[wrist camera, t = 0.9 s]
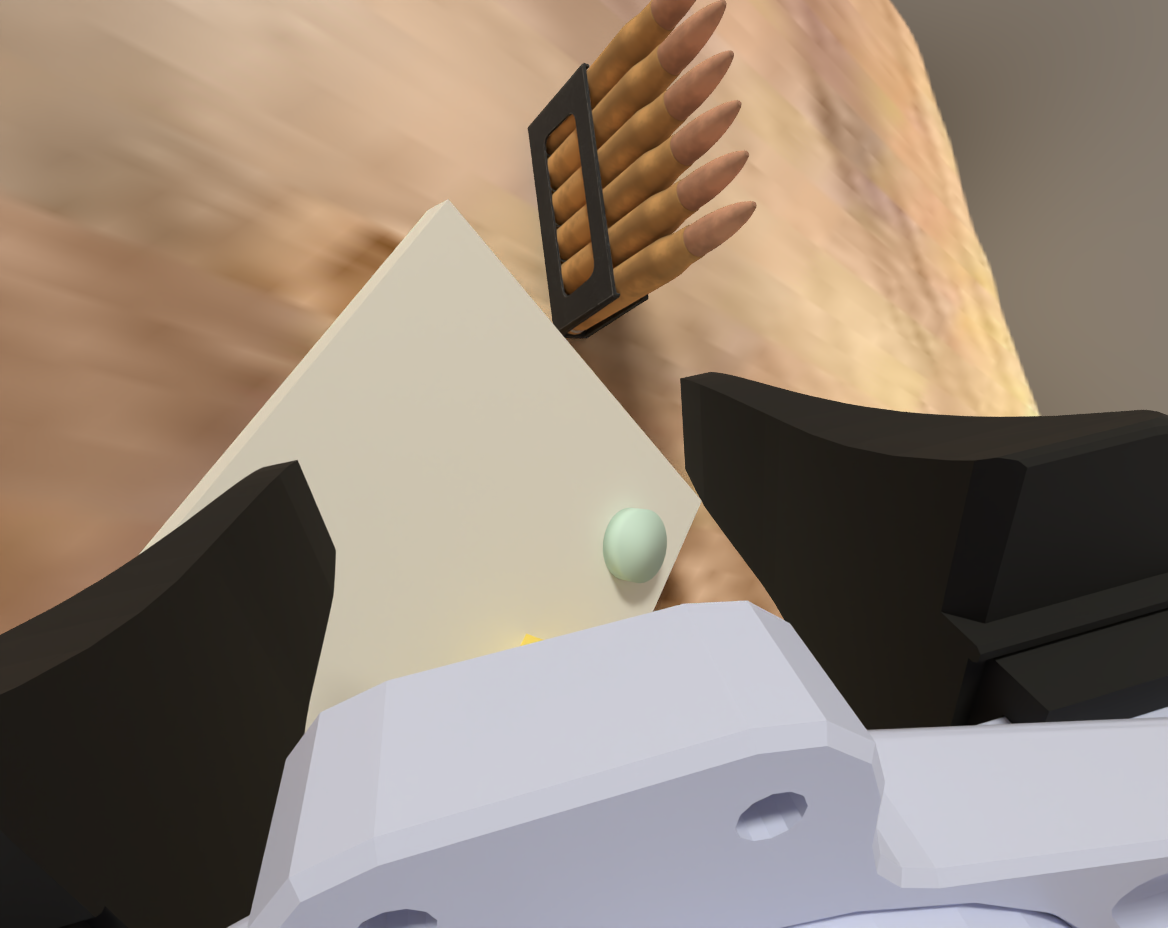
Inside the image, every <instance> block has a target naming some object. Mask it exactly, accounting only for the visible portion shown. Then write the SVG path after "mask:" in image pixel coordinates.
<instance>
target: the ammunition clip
mask: <svg viewBox="0 0 1168 928" xmlns="http://www.w3.org/2000/svg"><path fill="white" fill-rule="evenodd" d="M695 1H696V0H651V2H650V3H649V4H648V5H647V6H646V7H645V8H644V9H643V10H642V11H641V12H640V13H639V14H638V15H637V16H635V17H634V18H633V19H631V20H630V21H629V22H628V23H626V25H625V26H624V27H623V28H622V29H621V30H620V31H619V33H618V34H617V35H616V36H615V37H614V39H613V40H612V41H611V42H610V44H609V45H608V46H607V47H606V48H605V50H604V51H603V52H602V53H601V54H600V56H599V57H598V58H597V59H596V60H595V62H594V63H593V64H592V65H591V66H590V68H589V65H588V64H585V63H583V64H582V65H581V66H580V67H579V68H578V69H577V71H576V72H575V73H574V74H573V75H572V77H571V78H570V79H569V80H568V81H567V82H566V84H565V85H564V86H563V87H562V88H561V89H560V91H559V92H558V93H557V94H556V95H555V96H554V98H553V99H552V100H551V101H550V102H549V103H548V105H547V106H546V107H545V108H544V109H543V110H542V112H541V113H540V114H539V115H538V116H537V117H536V119H535V120H534V121H533V122H532V123H531V124H530V126H529V127H528V133H529V140H530V148H531V156H532V164H533V172H534V180H535V187H536V195H537V203H538V211H539V219H540V227H541V234H542V242H543V250H544V258H545V266H546V274H547V281H548V289H549V297H550V305H551V313H552V321H553V324H554V326H555V327H556V328H557V329H558V330H559V332H560V333H561V334H562V335H563V336H564V337H567V338H588V337H589V336H591V335H593V334H594V333H596V332H597V331H599V330H600V329H602V328H603V327H605V326H607V325H608V324H610V323H611V322H613V321H614V320H616V319H617V318H619V317H621V316H622V315H624V314H625V313H627V312H628V311H630V310H631V309H633V308H635V307H636V306H638V305H639V304H641V303H643V302H644V301H646V300H648V294H649V293H651V292H652V291H654V290H656V289H658V288H659V287H661V286H663V285H664V284H666V283H668V282H670V281H671V280H673V279H675V278H676V277H678V276H679V275H680V274H682V273H683V272H684V271H685V270H686V269H687V268H688V267H689V266H690V265H691V264H692V263H694V262H695V261H697V260H699V259H700V258H702V257H703V256H704V255H705V254H707V253H708V252H710V251H712V250H713V249H715V248H716V247H718V246H719V245H721V244H722V243H723V242H725V241H726V240H727V239H729V238H730V237H731V236H732V235H733V234H735V233H736V232H737V231H738V230H739V229H740V228H741V227H742V226H743V225H744V224H745V223H746V222H747V221H748V219H749V218H750V217H751V215H752V214H753V212H754V210H755V208H756V203H755V202H753V201H747V202H739V203H735V204H732V205H728V206H725V207H723V208H720V209H718V210H716V211H714V212H711V213H709V214H707V215H705V216H704V217H702V218H700V219H699V220H697V221H696V222H694V223H692V224H691V225H688V226H686V227H684V228H682V229H681V230H679V231H677V232H676V233H673V232H674V231H676V230H677V228H678V227H679V226H680V225H681V224H682V223H683V222H684V221H685V220H686V219H687V218H688V217H690V216H691V215H692V214H694V213H695V212H696V211H698V210H699V208H700V207H702V206H703V205H705V204H706V203H707V202H709V201H710V200H711V199H713V198H714V197H715V196H716V195H718V194H719V193H720V192H721V191H722V190H723V189H724V188H725V187H726V186H727V185H728V184H729V183H730V182H731V181H732V180H733V179H734V178H735V177H736V175H737V174H738V173H739V172H740V170H741V169H742V168H743V166H744V164H745V163H746V161H747V159H748V157H749V153H748V152H747V151H736V152H732V153H729V154H726V155H724V156H721V157H719V158H716V159H714V160H712V161H710V162H709V163H707V164H705V165H703V166H702V167H700V168H698V169H696V170H695V171H693V172H692V173H690V174H689V175H688V176H686V177H685V178H684V179H681V180H680V181H678V182H677V183H675V184H674V185H672V184H673V183H674V182H675V181H676V179H677V178H678V177H679V176H680V175H681V174H682V173H683V172H684V171H685V170H687V169H688V168H689V167H690V166H691V165H692V164H693V163H694V162H695V161H696V160H697V159H699V158H700V157H701V156H702V155H703V154H705V153H706V152H707V151H708V150H709V149H710V148H711V147H712V146H713V145H714V144H715V143H716V142H717V141H718V140H719V139H720V138H721V137H722V135H723V134H724V133H725V132H726V130H727V129H728V128H729V126H730V125H731V124H732V122H733V121H734V119H735V118H736V116H737V114H738V112H739V110H740V108H741V102H740V101H738V100H735V101H730V102H727V103H723V104H721V105H719V106H717V107H715V108H713V109H711V110H709V111H707V112H705V113H703V114H702V115H700V116H698V117H697V118H695V119H694V120H692V121H691V122H690V123H688V124H687V125H686V126H684V127H683V128H682V129H681V130H679V131H678V132H677V133H676V134H674V135H672V133H673V132H674V131H675V130H676V129H677V128H678V127H679V126H680V125H681V124H682V123H683V122H684V121H685V120H686V119H687V117H688V116H690V115H691V114H692V113H693V112H694V111H695V110H696V109H697V108H698V107H699V106H700V105H701V104H702V103H703V102H704V101H705V100H706V99H707V98H708V96H709V95H710V94H711V93H712V92H713V91H714V89H715V88H716V87H717V85H718V84H719V83H720V81H721V80H722V78H723V77H724V75H725V74H726V72H727V70H728V68H729V66H730V64H731V62H732V60H733V57H734V53H733V51H725V52H722V53H719V54H717V55H714V56H712V57H711V58H709V59H707V60H705V61H703V62H702V63H700V64H698V65H697V66H695V67H694V68H692V69H691V70H690V71H688V72H687V73H686V74H685V75H683V76H682V77H681V78H680V79H679V80H677V81H676V82H675V83H674V84H673V85H672V86H671V87H670V88H669V89H668V90H666V89H667V88H668V87H669V86H670V84H671V83H672V82H673V81H674V80H675V79H676V78H677V77H678V76H679V74H680V73H681V71H682V70H683V69H684V68H685V67H686V66H687V65H688V64H689V63H690V62H691V61H692V60H693V59H694V58H695V57H696V55H697V54H698V53H699V52H700V50H701V49H702V48H703V47H704V45H705V44H706V43H707V41H708V40H709V38H710V37H711V35H712V34H713V32H714V30H715V29H716V27H717V26H718V24H719V22H720V20H721V18H722V16H723V14H724V11H725V8H726V1H725V0H720V1H717V2H714V3H712V4H710V5H708V6H706V7H704V8H703V9H701V10H699V11H698V12H696V13H695V14H693V15H692V16H690V17H689V18H688V19H687V20H685V21H684V22H683V23H682V24H681V25H680V26H678V27H677V28H676V29H675V30H674V31H673V32H672V30H673V29H674V28H675V26H676V25H677V24H678V22H679V21H680V20H681V19H682V18H683V17H684V16H685V14H686V13H687V12H688V11H689V9H690V8H691V6H692V5H693V4H694V2H695ZM671 32H672V33H671ZM670 33H671V34H670ZM669 34H670V35H669ZM668 35H669V36H668ZM667 36H668V37H667ZM588 68H589V69H588ZM587 69H588V70H587ZM586 70H587V71H586ZM671 135H672V136H671ZM670 136H671V137H670ZM669 137H670V138H669ZM672 233H673V234H672Z"/></svg>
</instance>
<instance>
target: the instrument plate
mask: <svg viewBox="0 0 1168 928" xmlns="http://www.w3.org/2000/svg"><path fill="white" fill-rule="evenodd" d="M294 460H298V462H299V464H300V467H301V469H302V471H303V474H304V476H305V478H306V481H307V483H308V485H309V488H310V490H311V492H312V495H313V497H314V499H315V502H316V504H317V506H318V509H319V511H320V514H321V516H322V518H323V521H324V523H325V525H326V528H327V530H328V532H329V535H330V537H331V539H332V542H333V544H334V546H335V549H336V565H335V583H334V596H333V601H332V606H331V610H330V615H329V619H328V624H327V629H326V633H325V637H324V642H323V646H322V650H321V655H320V659H319V663H318V668H317V672H316V677H315V681H314V685H313V690H312V694H311V698H310V703H309V709H308V714H307V720H306V726H305V733H306V731H307V730H308V728H309V727H310V726H311V724H312V723H313V722H314V720H315V719H316V718H317V716H318V715H319V713H320V712H322V711H324V710H326V709H328V708H331V707H333V706H335V705H337V704H339V703H341V702H343V701H345V700H347V699H349V698H352V697H354V696H356V695H358V694H360V693H362V692H364V691H366V690H368V689H370V688H373V687H375V686H377V685H379V684H381V683H383V682H385V681H388V680H391V679H395V678H399V677H403V676H407V675H411V674H415V673H418V672H422V671H426V670H430V669H434V668H438V667H442V666H445V665H449V664H453V663H457V662H461V661H465V660H469V659H473V658H476V657H480V656H484V655H488V654H492V653H496V652H500V651H503V650H507V649H511V648H515V647H519V646H523V645H527V644H530V643H534V642H538V641H542V640H546V639H550V638H554V637H557V636H561V635H565V634H569V633H573V632H577V631H581V630H585V629H588V628H592V627H596V626H600V625H604V624H608V623H612V622H615V621H619V620H623V619H627V618H631V617H635V616H639V615H642V614H646V613H650V612H653V610H654V608H655V606H656V604H657V601H658V599H659V597H660V594H661V592H662V590H663V588H664V585H665V583H666V581H667V578H668V576H669V574H670V572H671V569H672V567H673V565H674V563H675V560H676V558H677V556H678V553H679V551H680V549H681V547H682V544H683V542H684V540H685V538H686V535H687V533H688V531H689V528H690V526H691V524H692V522H693V519H694V517H695V515H696V512H697V510H698V508H699V506H700V503H701V500H700V499H699V497H698V496H697V495H696V494H695V493H694V491H693V490H692V489H691V488H690V487H689V485H688V484H687V483H686V482H685V481H684V479H683V478H682V477H681V476H680V475H679V474H678V472H677V471H676V470H675V469H674V468H673V466H672V465H671V464H670V463H669V462H668V460H667V459H666V458H665V457H664V456H663V454H662V453H661V452H660V451H659V450H658V448H657V447H656V446H655V445H654V444H653V443H652V441H651V440H650V439H649V438H648V437H647V435H646V434H645V433H644V432H643V431H642V429H641V428H640V427H639V426H638V425H637V423H636V422H635V421H634V420H633V419H632V417H631V416H630V415H629V414H628V413H627V412H626V410H625V409H624V408H623V407H622V406H621V404H620V403H619V402H618V401H617V400H616V398H615V397H614V396H613V395H612V394H611V392H610V391H609V390H608V389H607V388H606V386H605V385H604V384H603V383H602V382H601V381H600V379H599V378H598V377H597V376H596V375H595V373H594V372H593V371H592V370H591V369H590V367H589V366H588V365H587V364H586V363H585V361H584V360H583V359H582V358H581V357H580V355H579V354H578V353H577V352H576V351H575V350H574V348H573V347H572V346H571V345H570V344H569V342H568V341H567V340H566V339H565V338H564V336H563V335H562V334H561V333H560V332H559V330H558V329H557V328H556V327H555V326H554V324H553V323H552V322H551V321H550V320H549V318H548V317H547V316H546V315H545V314H544V313H543V311H542V310H541V309H540V308H539V307H538V305H537V304H536V303H535V302H534V301H533V299H532V298H531V297H530V296H529V295H528V293H527V292H526V291H525V290H524V289H523V287H522V286H521V285H520V284H519V283H518V282H517V280H516V279H515V278H514V277H513V276H512V274H511V273H510V272H509V271H508V270H507V268H506V267H505V266H504V265H503V264H502V262H501V261H500V260H499V259H498V258H497V256H496V255H495V254H494V253H493V252H492V251H491V249H490V248H489V247H488V246H487V245H486V243H485V242H484V241H483V240H482V239H481V237H480V236H479V235H478V234H477V233H476V231H475V230H474V229H473V228H472V227H471V225H470V224H469V223H468V222H467V221H466V220H465V218H464V217H463V216H462V215H461V214H460V212H459V211H458V210H457V209H456V208H455V206H454V205H453V204H452V203H451V202H450V200H449V199H447V200H446V201H444V202H442V203H440V204H438V205H436V206H435V207H433V208H431V209H429V210H427V212H426V213H425V214H424V215H423V216H422V218H421V219H420V220H419V221H418V222H417V224H416V225H415V226H414V227H413V228H412V230H411V231H410V232H409V233H408V234H407V236H406V237H405V238H404V239H403V240H402V241H401V243H400V244H399V245H398V246H397V247H396V249H395V250H394V251H393V252H392V253H391V255H390V256H389V257H388V258H387V259H386V261H385V262H384V263H383V264H382V265H381V267H380V268H379V269H378V270H377V271H376V272H375V274H374V275H373V276H372V277H371V278H370V280H369V281H368V282H367V283H366V284H365V286H364V287H363V288H362V289H361V290H360V292H359V293H358V294H357V295H356V296H355V298H354V299H353V300H352V301H351V302H350V303H349V305H348V306H347V307H346V308H345V309H344V311H343V312H342V313H341V314H340V315H339V317H338V318H337V319H336V320H335V321H334V323H333V324H332V325H331V326H330V327H329V329H328V330H327V331H326V332H325V333H324V334H323V336H322V337H321V338H320V339H319V340H318V342H317V343H316V344H315V345H314V346H313V348H312V349H311V350H310V351H309V352H308V354H307V355H306V356H305V357H304V358H303V360H302V361H301V362H300V363H299V364H298V365H297V367H296V368H295V369H294V370H293V371H292V373H291V374H290V375H289V376H288V377H287V379H286V380H285V381H284V382H283V383H282V385H281V386H280V387H279V388H278V389H277V391H276V392H275V393H274V394H273V395H272V396H271V398H270V399H269V400H268V401H267V402H266V404H265V405H264V406H263V407H262V408H261V410H260V411H259V412H258V413H257V414H256V416H255V417H254V418H253V419H252V420H251V422H250V423H249V424H248V425H247V426H246V427H245V429H244V430H243V431H242V432H241V433H240V435H239V436H238V437H237V438H236V439H235V441H234V442H233V443H232V444H231V445H230V447H229V448H228V449H227V450H226V451H225V453H224V454H223V455H222V456H221V457H220V458H219V460H218V461H217V462H216V463H215V464H214V466H213V467H212V468H211V469H210V470H209V472H208V473H207V474H206V475H205V476H204V478H203V479H202V480H201V481H200V482H199V484H198V485H197V486H196V487H195V488H194V489H193V491H192V492H191V493H190V494H189V495H188V497H187V498H186V499H185V500H184V501H183V503H182V504H181V505H180V506H179V507H178V509H177V510H176V511H175V512H174V513H173V515H172V516H171V517H170V518H169V519H168V520H167V522H166V523H165V524H164V525H163V526H162V528H161V529H160V530H159V531H158V532H157V534H156V535H155V536H154V537H153V538H152V540H151V541H150V542H149V543H148V544H147V546H146V547H145V548H144V549H143V550H142V551H141V553H142V552H144V551H145V550H146V549H148V548H149V547H151V546H152V545H154V544H155V543H156V542H158V541H159V540H161V539H162V538H163V537H165V536H166V535H168V534H169V533H171V532H172V531H173V530H175V529H176V528H178V527H179V526H180V525H182V524H183V523H184V522H186V521H187V520H188V519H190V518H191V517H192V516H194V515H195V514H196V513H198V512H199V511H200V510H202V509H203V508H204V507H206V506H207V505H208V504H209V503H211V502H212V501H213V500H215V499H216V498H217V497H219V496H220V495H221V494H223V493H224V492H225V491H227V490H228V489H229V488H231V487H232V486H234V485H235V484H236V483H238V482H239V481H240V480H242V479H243V478H245V477H246V476H248V475H249V474H251V473H253V472H254V471H256V470H258V469H260V468H262V467H266V466H271V465H275V464H280V463H285V462H290V461H294ZM141 553H140V554H141Z"/></svg>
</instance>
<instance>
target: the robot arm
mask: <svg viewBox="0 0 1168 928" xmlns="http://www.w3.org/2000/svg"><path fill="white" fill-rule="evenodd" d="M680 381H681V399H682V417H683V435H684V453H685V469H686V471H687V473H688V475H689V477H690V479H691V481H692V483H693V485H694V487H695V489H696V491H697V493H698V495H699V497H700V499H701V501H702V502H703V504H704V506H705V508H706V509H707V510H708V512H709V513H710V515H711V516H712V517H713V519H714V520H715V521H716V523H717V524H718V526H719V527H720V528H721V530H722V531H723V532H724V534H725V535H726V536H727V538H728V539H729V540H730V542H731V543H732V544H733V546H734V547H735V549H736V550H737V551H738V553H739V554H740V555H741V557H742V558H743V559H744V561H745V562H746V563H747V565H748V566H749V567H750V569H751V570H752V571H753V573H754V574H755V575H756V577H757V578H758V579H759V581H760V582H761V583H762V585H763V586H764V588H765V589H766V591H767V592H768V594H769V595H770V597H771V598H772V600H773V601H774V603H775V604H776V606H777V608H778V610H779V611H780V613H781V615H782V617H783V618H784V620H785V621H784V620H783V619H781V618H779V617H777V616H775V615H773V614H771V613H769V612H767V611H766V610H764V609H762V608H760V607H758V606H756V605H754V604H752V603H751V602H749V601H731V602H710V603H690V604H681V605H677V606H673V607H669V608H666V609H662V610H658V611H654V612H650V613H646V614H642V615H639V616H635V617H631V618H627V619H623V620H619V621H615V622H612V623H608V624H604V625H600V626H596V627H592V628H588V629H585V630H581V631H577V632H573V633H569V634H565V635H561V636H557V637H554V638H550V639H546V640H542V641H538V642H534V643H530V644H527V645H523V646H519V647H515V648H511V649H507V650H503V651H500V652H496V653H492V654H488V655H484V656H480V657H476V658H473V659H469V660H465V661H461V662H457V663H453V664H449V665H445V666H442V667H438V668H434V669H430V670H426V671H422V672H418V673H415V674H411V675H407V676H403V677H399V678H395V679H391V680H388V681H385V682H383V683H381V684H379V685H377V686H375V687H373V688H370V689H368V690H366V691H364V692H362V693H360V694H358V695H356V696H354V697H352V698H349V699H347V700H345V701H343V702H341V703H339V704H337V705H335V706H333V707H331V708H328V709H326V710H324V711H322V712H320V713H319V715H318V716H317V718H316V719H315V720H314V722H313V723H312V724H311V726H310V727H309V728H308V730H307V731H306V733H305V726H306V720H307V714H308V709H309V703H310V698H311V694H312V690H313V685H314V681H315V677H316V672H317V668H318V663H319V659H320V655H321V650H322V646H323V642H324V637H325V633H326V629H327V624H328V619H329V615H330V610H331V606H332V601H333V596H334V583H335V565H336V549H335V546H334V544H333V542H332V539H331V537H330V535H329V532H328V530H327V528H326V525H325V523H324V521H323V518H322V516H321V514H320V511H319V509H318V506H317V504H316V502H315V499H314V497H313V495H312V492H311V490H310V488H309V485H308V483H307V481H306V478H305V476H304V474H303V471H302V469H301V467H300V464H299V462H298V460H294V461H290V462H285V463H280V464H275V465H271V466H266V467H262V468H260V469H258V470H256V471H254V472H253V473H251V474H249V475H248V476H246V477H245V478H243V479H242V480H240V481H239V482H238V483H236V484H235V485H234V486H232V487H231V488H229V489H228V490H227V491H225V492H224V493H223V494H221V495H220V496H219V497H217V498H216V499H215V500H213V501H212V502H211V503H209V504H208V505H207V506H206V507H204V508H203V509H202V510H200V511H199V512H198V513H196V514H195V515H194V516H192V517H191V518H190V519H188V520H187V521H186V522H184V523H183V524H182V525H180V526H179V527H178V528H176V529H175V530H173V531H172V532H171V533H169V534H168V535H166V536H165V537H163V538H162V539H161V540H159V541H158V542H156V543H155V544H154V545H152V546H151V547H149V548H148V549H146V550H145V551H144V552H142V553H141V554H139V555H138V556H137V557H135V558H134V559H132V560H131V561H129V562H128V563H126V564H125V565H123V566H122V567H120V568H119V569H117V570H116V571H114V572H112V573H111V574H109V575H108V576H106V577H104V578H103V579H101V580H100V581H98V582H96V583H95V584H93V585H91V586H90V587H88V588H86V589H84V590H83V591H81V592H79V593H78V594H76V595H74V596H73V597H71V598H69V599H68V600H66V601H64V602H62V603H61V604H59V605H57V606H55V607H53V608H52V609H50V610H48V611H46V612H44V613H42V614H40V615H38V616H36V617H34V618H32V619H30V620H28V621H26V622H25V623H23V624H21V625H19V626H17V627H15V628H13V629H11V630H9V631H7V632H5V633H3V634H1V635H0V928H1168V415H1165V414H1163V413H1160V412H1156V411H1150V410H1134V411H1121V412H1105V413H1091V414H1077V415H1062V416H1029V417H976V416H953V415H936V414H921V413H910V412H900V411H893V410H885V409H878V408H870V407H863V406H857V405H852V404H846V403H841V402H837V401H832V400H827V399H822V398H818V397H813V396H809V395H805V394H801V393H797V392H793V391H789V390H785V389H781V388H778V387H774V386H770V385H767V384H763V383H759V382H756V381H752V380H748V379H744V378H741V377H736V376H732V375H728V374H723V373H716V372H708V373H704V374H699V375H694V376H690V377H685V378H680Z"/></svg>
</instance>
